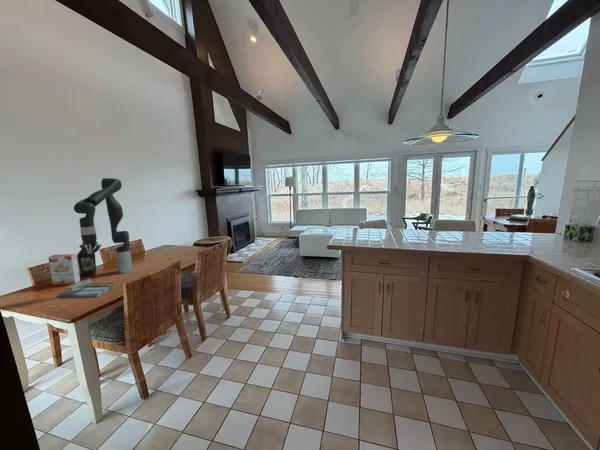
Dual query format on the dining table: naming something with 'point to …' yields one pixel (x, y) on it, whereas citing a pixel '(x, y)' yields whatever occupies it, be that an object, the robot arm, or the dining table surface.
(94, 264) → the olive oil
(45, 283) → the dining table surface
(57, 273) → the cracker box
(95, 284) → the latched flap box
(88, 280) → the lock bar
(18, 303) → the dining table surface
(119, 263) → the robot arm
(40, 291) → the dining table surface
